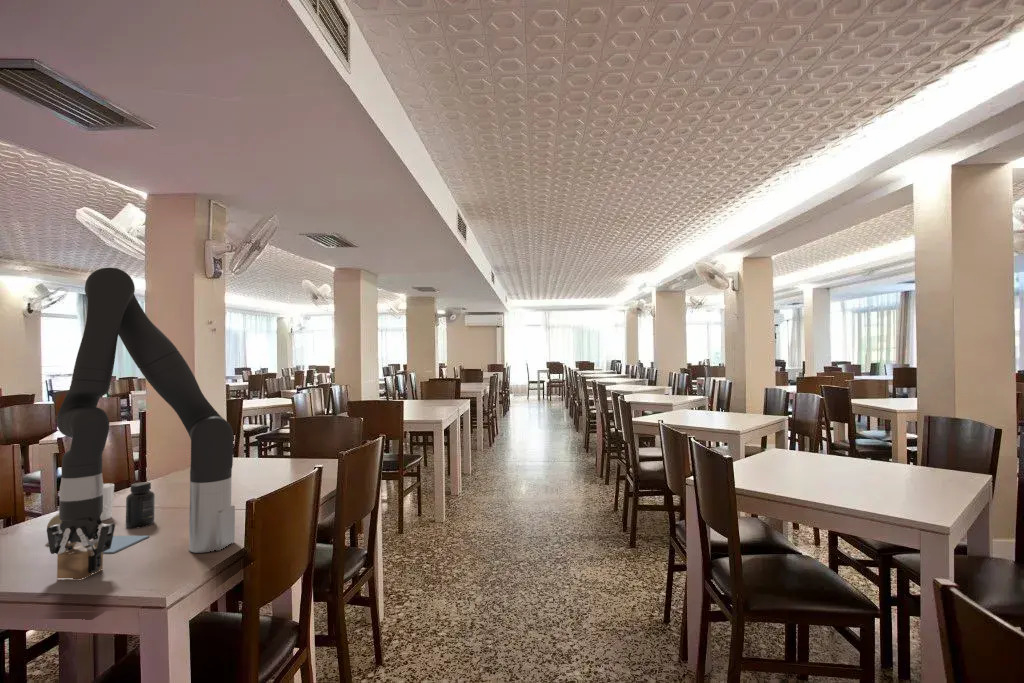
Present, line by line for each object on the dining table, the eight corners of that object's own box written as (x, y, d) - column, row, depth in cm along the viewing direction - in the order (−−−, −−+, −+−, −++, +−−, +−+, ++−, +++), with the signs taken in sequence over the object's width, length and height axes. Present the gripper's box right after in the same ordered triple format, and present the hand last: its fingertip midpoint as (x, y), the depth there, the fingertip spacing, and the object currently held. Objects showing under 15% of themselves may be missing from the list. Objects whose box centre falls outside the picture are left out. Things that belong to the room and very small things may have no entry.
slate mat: (149, 537, 139) (149, 535, 139) (113, 553, 127) (113, 551, 127) (106, 537, 139) (106, 535, 139) (66, 553, 127) (66, 552, 127)
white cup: (99, 523, 152) (100, 489, 153) (73, 523, 152) (74, 489, 153) (120, 515, 160) (120, 483, 161) (95, 515, 160) (96, 483, 161)
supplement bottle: (154, 519, 155) (155, 480, 155) (153, 525, 149) (154, 484, 149) (126, 524, 151) (127, 483, 152) (124, 530, 145) (125, 487, 146)
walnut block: (102, 569, 116) (102, 545, 117) (81, 580, 111) (82, 554, 111) (78, 570, 116) (79, 545, 117) (57, 580, 111) (57, 554, 111)
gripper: (126, 490, 118) (124, 565, 117) (65, 491, 118) (63, 565, 118) (99, 499, 111) (97, 578, 110) (34, 500, 111) (32, 579, 110)
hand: (80, 571), depth 114 cm, fingers closed on walnut block, 5 cm apart
